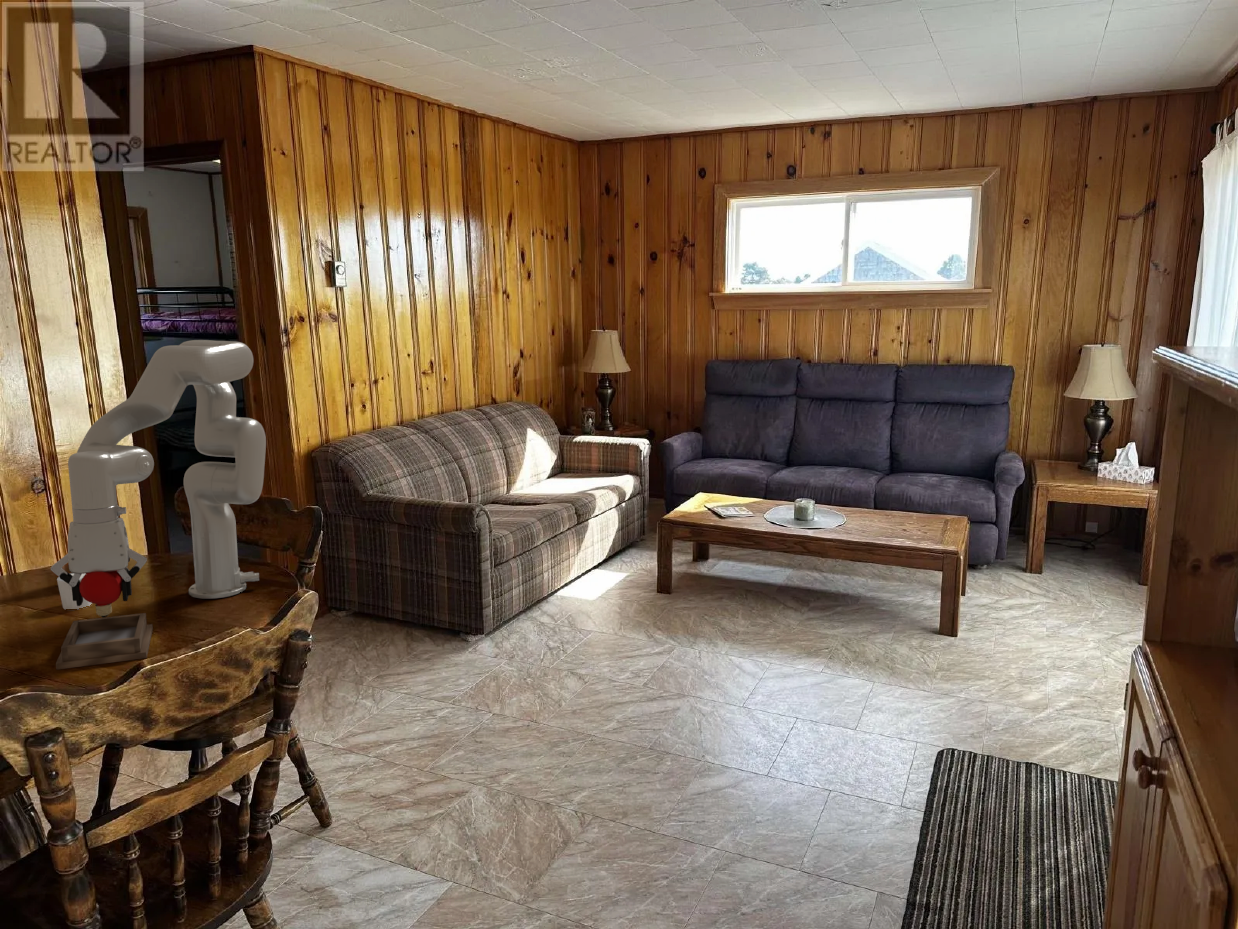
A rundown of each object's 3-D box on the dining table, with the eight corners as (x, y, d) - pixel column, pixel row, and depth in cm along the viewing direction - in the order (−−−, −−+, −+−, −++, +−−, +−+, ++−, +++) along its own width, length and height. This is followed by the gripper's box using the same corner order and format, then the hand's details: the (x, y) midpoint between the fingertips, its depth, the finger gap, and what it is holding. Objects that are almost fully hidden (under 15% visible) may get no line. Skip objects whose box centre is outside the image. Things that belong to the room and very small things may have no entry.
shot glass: (78, 612, 190) (75, 582, 189) (52, 609, 191) (49, 579, 190) (102, 602, 197) (99, 573, 195) (77, 599, 198) (74, 570, 197)
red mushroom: (98, 608, 174) (93, 561, 172) (133, 608, 174) (130, 561, 173) (73, 625, 165) (68, 576, 163) (111, 625, 165) (106, 575, 164)
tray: (152, 629, 181) (151, 611, 180) (146, 658, 167) (145, 638, 166) (69, 639, 175) (68, 620, 174) (56, 669, 161) (54, 649, 160)
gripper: (147, 507, 173) (154, 590, 176) (46, 513, 166) (54, 600, 169) (144, 515, 166) (151, 602, 169) (38, 522, 159) (47, 613, 162)
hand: (103, 600), depth 169 cm, fingers closed on red mushroom, 7 cm apart
